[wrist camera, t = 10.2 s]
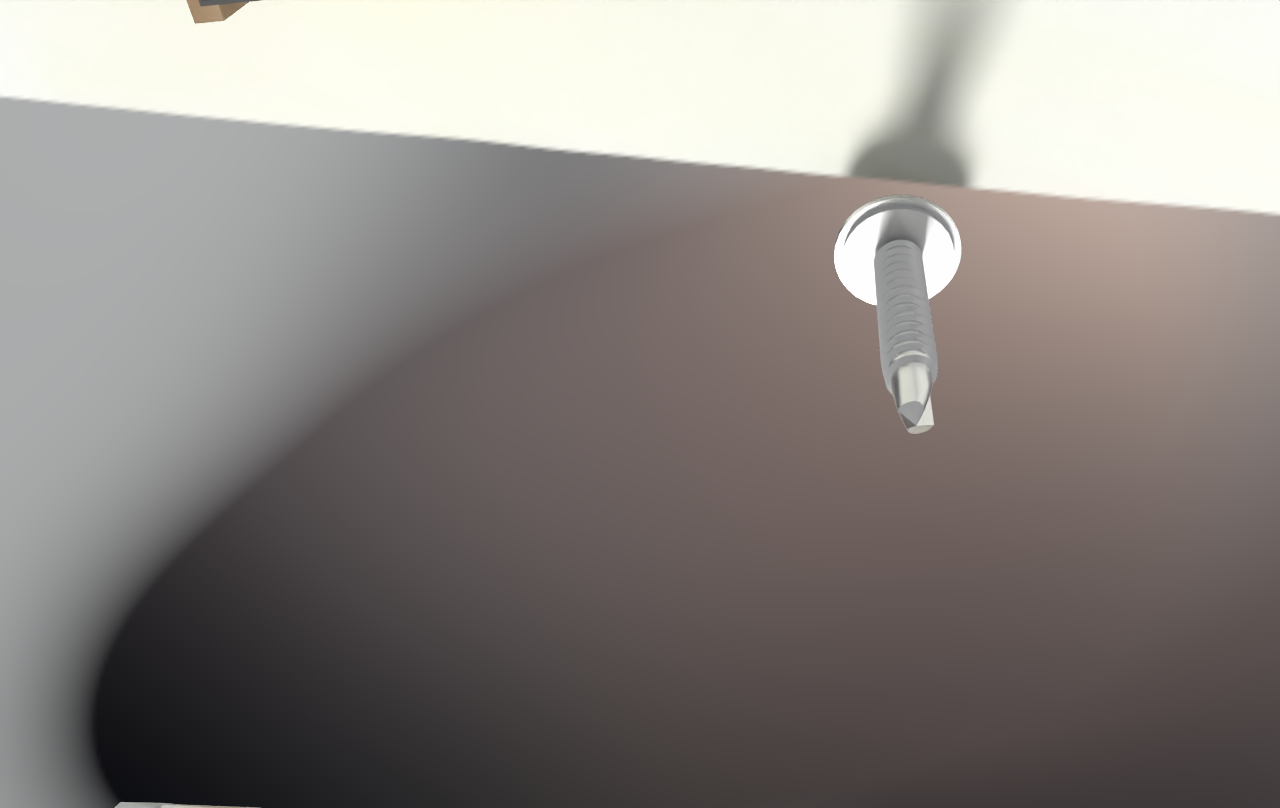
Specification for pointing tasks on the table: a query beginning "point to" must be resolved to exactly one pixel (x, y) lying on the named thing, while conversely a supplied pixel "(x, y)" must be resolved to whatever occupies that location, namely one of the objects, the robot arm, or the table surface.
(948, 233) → the screw
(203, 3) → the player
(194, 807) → the robot arm
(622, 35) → the table surface
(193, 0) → the wooden box
